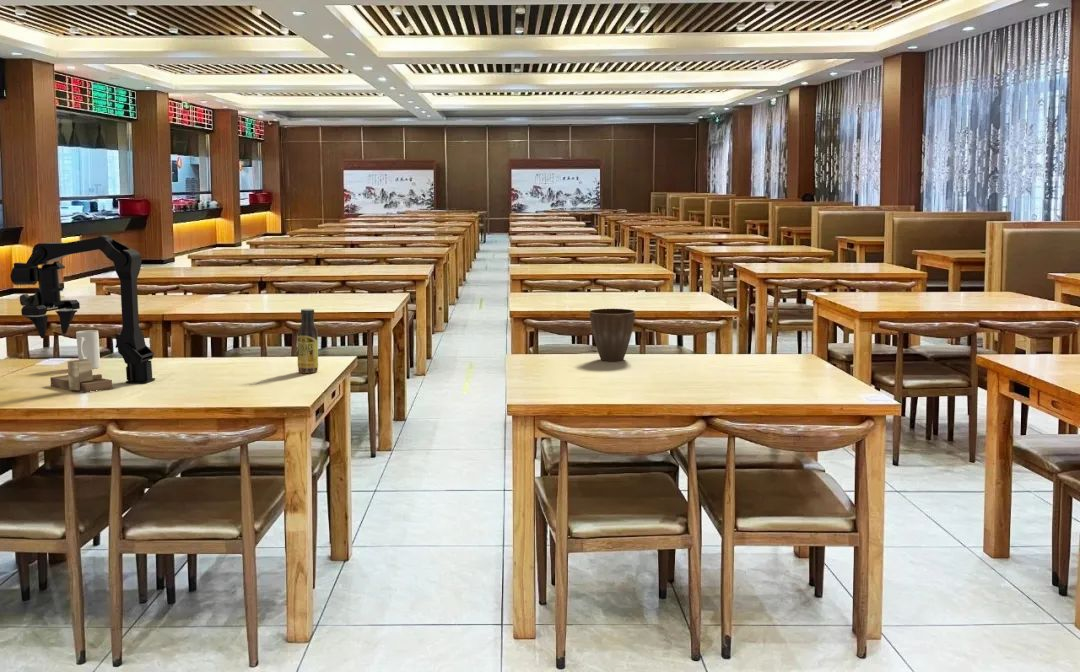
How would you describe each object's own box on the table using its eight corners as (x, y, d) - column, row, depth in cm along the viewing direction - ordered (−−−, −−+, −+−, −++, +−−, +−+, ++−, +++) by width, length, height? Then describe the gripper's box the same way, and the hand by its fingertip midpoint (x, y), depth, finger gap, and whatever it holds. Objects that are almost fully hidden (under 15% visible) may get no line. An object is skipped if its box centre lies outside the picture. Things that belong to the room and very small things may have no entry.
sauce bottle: (294, 373, 338) (291, 310, 335) (303, 370, 344) (300, 307, 341) (314, 374, 336) (311, 310, 334) (322, 370, 342) (320, 308, 340)
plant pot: (636, 356, 362) (636, 308, 360) (634, 363, 347) (633, 313, 345) (592, 355, 364) (591, 308, 362) (587, 363, 349) (587, 313, 347)
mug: (83, 366, 359) (81, 330, 357) (104, 365, 359) (101, 329, 357) (70, 371, 349) (68, 334, 347) (91, 371, 349) (89, 334, 347)
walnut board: (112, 388, 318) (111, 379, 317) (86, 392, 311) (86, 383, 311) (76, 381, 330) (75, 373, 329) (50, 385, 324) (50, 377, 323)
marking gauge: (105, 385, 319) (103, 358, 318) (76, 390, 312) (74, 362, 311) (97, 384, 321) (95, 357, 320) (69, 389, 314) (67, 361, 313)
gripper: (48, 281, 337) (53, 331, 339) (3, 287, 320) (8, 340, 322) (78, 281, 334) (83, 331, 336) (35, 287, 316) (40, 340, 319)
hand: (53, 336), depth 328 cm, fingers open, 9 cm apart
